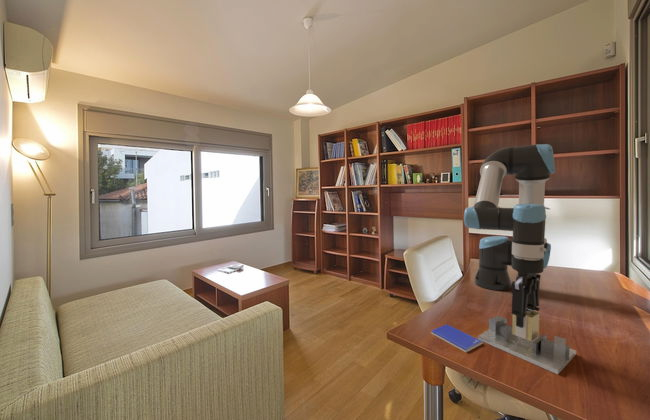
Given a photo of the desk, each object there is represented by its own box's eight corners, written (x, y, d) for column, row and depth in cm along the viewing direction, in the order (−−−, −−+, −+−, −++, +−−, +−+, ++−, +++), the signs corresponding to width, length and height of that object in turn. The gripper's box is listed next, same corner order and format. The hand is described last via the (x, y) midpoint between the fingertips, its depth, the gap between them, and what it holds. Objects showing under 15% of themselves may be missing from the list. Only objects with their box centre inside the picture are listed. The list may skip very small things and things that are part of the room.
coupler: (531, 341, 78) (532, 315, 78) (512, 333, 82) (512, 309, 82) (538, 335, 81) (539, 310, 80) (519, 328, 85) (520, 305, 85)
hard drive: (482, 340, 84) (447, 323, 95) (465, 349, 80) (431, 330, 91) (482, 345, 84) (447, 328, 95) (465, 354, 80) (431, 334, 91)
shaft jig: (477, 339, 87) (477, 323, 86) (498, 325, 95) (499, 311, 94) (559, 375, 70) (560, 355, 69) (577, 355, 78) (577, 337, 77)
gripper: (529, 265, 72) (526, 350, 74) (555, 254, 82) (551, 329, 84) (498, 259, 78) (496, 337, 80) (525, 250, 88) (523, 319, 90)
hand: (524, 333), depth 82 cm, fingers closed on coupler, 5 cm apart
